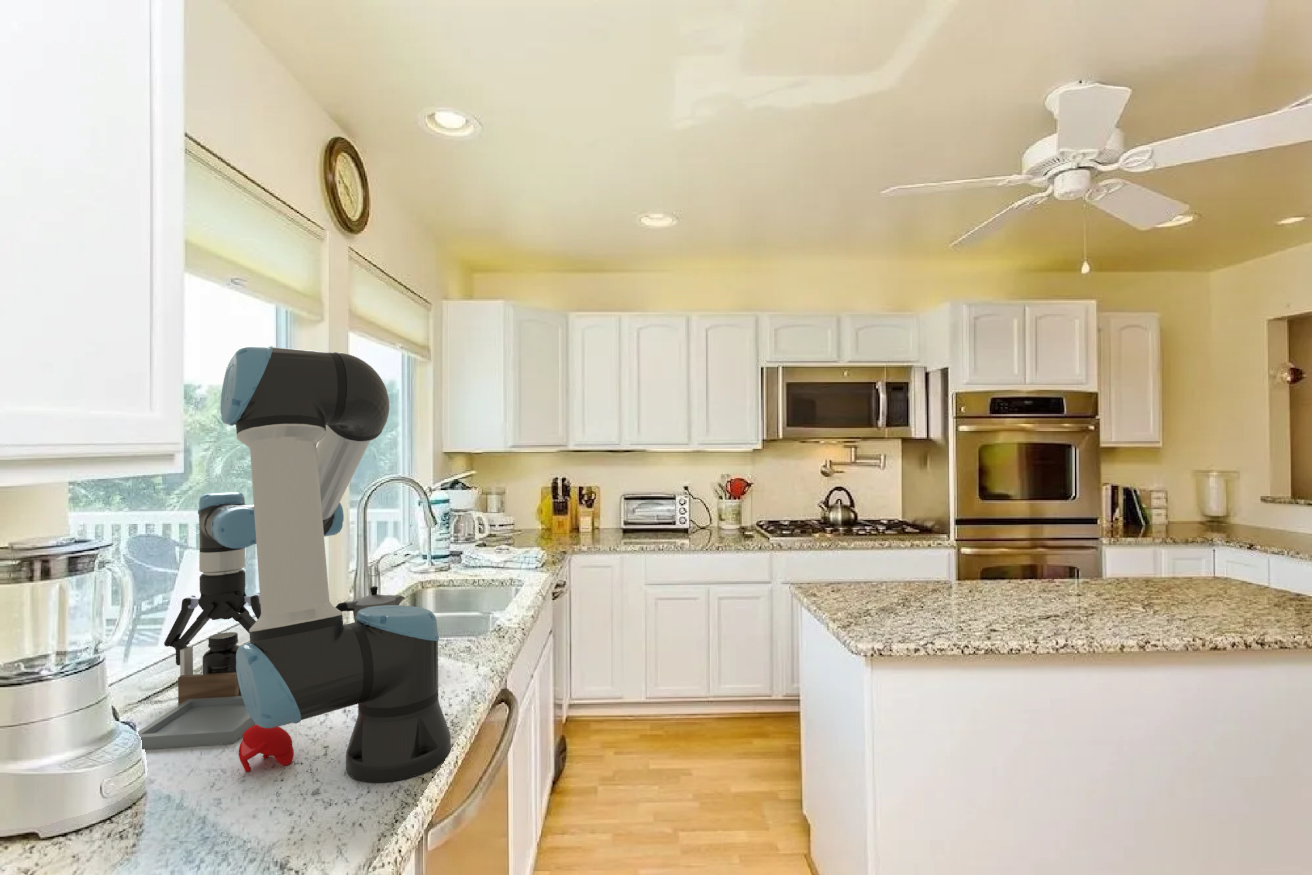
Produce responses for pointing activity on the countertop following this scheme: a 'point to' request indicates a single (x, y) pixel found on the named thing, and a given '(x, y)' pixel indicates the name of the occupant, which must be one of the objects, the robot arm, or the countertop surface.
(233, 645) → the supplement bottle
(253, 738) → the cap
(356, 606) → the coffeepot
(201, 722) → the tray
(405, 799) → the countertop surface
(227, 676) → the brown wooden block
